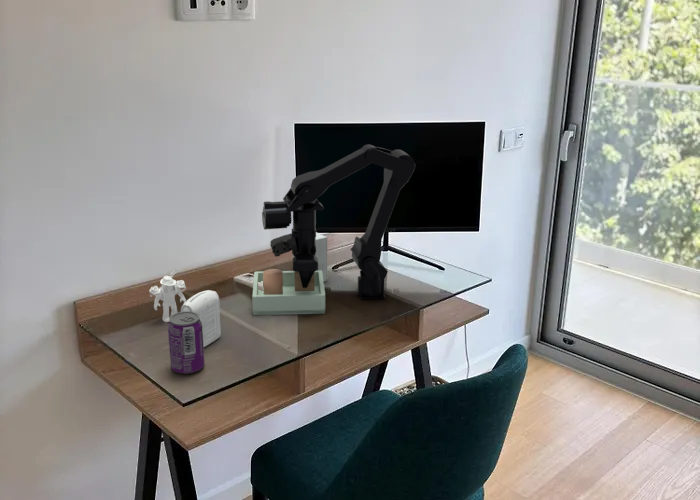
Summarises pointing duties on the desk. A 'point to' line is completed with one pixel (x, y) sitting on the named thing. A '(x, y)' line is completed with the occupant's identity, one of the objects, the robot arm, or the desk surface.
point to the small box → (321, 254)
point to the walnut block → (299, 284)
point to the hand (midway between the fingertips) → (304, 283)
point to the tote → (289, 297)
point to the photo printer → (206, 313)
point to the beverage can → (186, 342)
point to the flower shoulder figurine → (168, 295)
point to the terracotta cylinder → (273, 282)
